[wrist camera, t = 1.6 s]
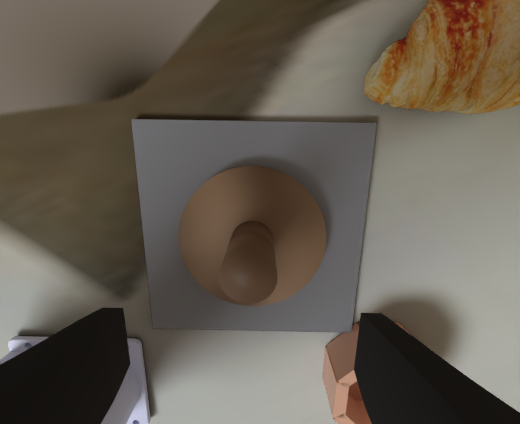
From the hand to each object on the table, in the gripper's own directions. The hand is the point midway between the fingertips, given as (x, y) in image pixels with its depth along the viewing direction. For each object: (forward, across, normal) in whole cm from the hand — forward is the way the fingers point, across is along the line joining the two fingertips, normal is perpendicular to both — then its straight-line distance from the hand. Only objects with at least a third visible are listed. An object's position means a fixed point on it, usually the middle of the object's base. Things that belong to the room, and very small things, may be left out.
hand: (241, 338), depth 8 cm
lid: (+9, 0, 0) cm, 9 cm away
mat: (+9, 0, 0) cm, 9 cm away
